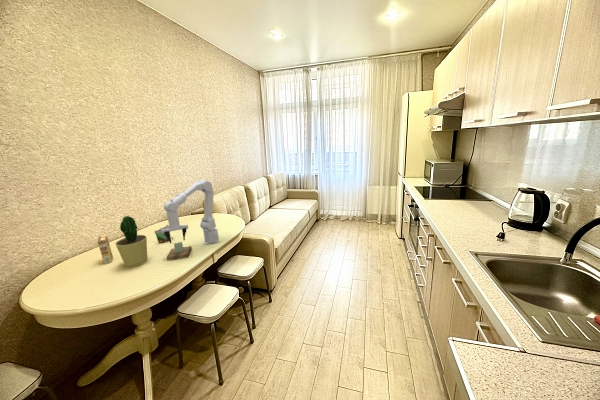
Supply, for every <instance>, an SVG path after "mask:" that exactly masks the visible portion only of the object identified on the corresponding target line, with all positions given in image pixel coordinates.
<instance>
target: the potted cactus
mask: <svg viewBox="0 0 600 400" xmlns="http://www.w3.org/2000/svg"><path fill="white" fill-rule="evenodd" d="M119 230H120V232H121V233H122V234H123V238H121V239H118V240H117V241H116V242H115V243H114V244H115V246H116V249H117V252H118V253H119V255H120V257H121V259H122V262H123V264H124V265H125V267H127V268H134V267H138V266H141V265H144V264H145V263H146V262H148V244H147V243H148V242H147V241H148V240H147V235H145V234H138V230H139V226H138V225H137V222H136V219H135V217H134V218H133V216H132V217H131V216H130V215H126V216H125V215H124V216H122V220H121V222H120V223H119Z"/></svg>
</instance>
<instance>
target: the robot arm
mask: <svg viewBox="0 0 600 400" xmlns="http://www.w3.org/2000/svg"><path fill="white" fill-rule="evenodd" d="M197 191H200V192H202V193H203V194H204V206H203V207H204V210H203V212H204V213H203V217H202V218H201V222H200V225H199V226H200V228H201V229H202V232H203V237H204V239H203V240H204V242H203V245H209V244H217V243H219V236H220V235H219V231H218V228H216V227H217V226H216V219H215V218H214V217H213V215H214V214H213V211H214V209H213V208H214V195H215V194H214V189H213V183H212V182H211V181H209V180H202V179H197V180H196V181H195V182H193V184H192V185H191V186H190V187H189V188H188V189H186V190H185V191H184V192H183V193H177V194H176V196H174V197H173V198H171V199H170V201H166V202H165V203H164V205H163V209H164V211H166V216H167V221H168V222H167V223H168V225H169V228H166V229H162V233H164V235H165V236H166V237H167V238H168V240H169V241H168V242H169V244H172V239H171V232H175V231H181V232H182V238H183V241H186V233H187V229H189V226H188V224H183V225H181V224H180V220H179V214H178V210H179V207H180V206H182V205H183V204H184V203H185V202H186V201H187V199H188V197H190V196H192V194H194V193H196V192H197ZM169 232H170V233H169Z"/></svg>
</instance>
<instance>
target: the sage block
mask: <svg viewBox="0 0 600 400" xmlns="http://www.w3.org/2000/svg"><path fill="white" fill-rule="evenodd" d="M173 246H174V247H173V249H174V248H175V253H179V252H183V247H184V246H183V242H182V241H179V242H175V243H173Z"/></svg>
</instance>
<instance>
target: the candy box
mask: <svg viewBox="0 0 600 400" xmlns="http://www.w3.org/2000/svg"><path fill="white" fill-rule="evenodd" d="M97 245H98V248H99V251H100V254H101V258H102V262H103V264H104V265H105V264H109V263H112V262H113V258H114V256H113V252H112V248H111V246H110V241H109V237H108V235H107V234H106V235H101V236H98V238H97Z"/></svg>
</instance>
